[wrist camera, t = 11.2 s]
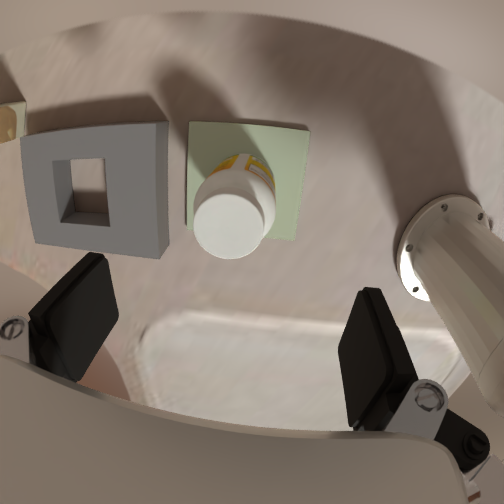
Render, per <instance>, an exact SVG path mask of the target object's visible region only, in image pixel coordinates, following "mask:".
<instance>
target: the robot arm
mask: <svg viewBox="0 0 504 504" xmlns="http://www.w3.org/2000/svg"><path fill="white" fill-rule="evenodd" d="M397 271H398V275H399V278H400V280H401V282H402V284H403V285H404V287H405V289H406V290H407V291H408V292H409V293H410V294H411V295H412V296H414V297H416V298H417V299H420V300H424V301H431V303H432V304H433V306H434V308H435V309H436V311H437V312H438V314H439V316H440V317H441V319H442V321H443V322H444V324H445V326H446V327H447V329H448V331H449V332H450V334H451V336H452V338H453V339H454V341H455V343H456V345H457V346H458V348H459V350H460V352H461V354H462V356H463V357H464V359H465V361H466V363H467V365H468V367H469V369H470V371H471V373H472V375H473V377H474V379H475V381H476V383H477V385H478V387H479V389H480V391H481V393H482V395H483V397H484V399H485V401H486V403H487V404H488V405H489V407H490V408H491V409H492V410H493V411H494V412H495V413H496V414H498V415H499V416H501V417H503V418H504V241H502V240H501V239H500V238H499V237H498V236H496V235H495V234H494V233H493V232H491V231H490V227H489V222H488V219H487V216H486V214H485V212H484V211H483V209H482V208H481V206H480V205H478V204H477V203H476V202H475V201H473V200H472V199H470V198H468V197H466V196H463V195H459V194H449V195H445V196H441V197H439V198H437V199H434V200H432V201H431V202H429V203H428V204H427V205H425V206H424V207H423V208H422V209H421V210H420V211H419V212H418V213H417V214H416V215H415V216H414V217H413V218H412V220H411V221H410V223H409V224H408V226H407V227H406V229H405V231H404V233H403V235H402V238H401V241H400V243H399V246H398V252H397ZM28 314H29V316H30V318H31V320H30V321H29V322H28V321H27V319H26V318H24V317H22V316H12V317H10V318H7V319H6V320H4V322H2V323H1V324H0V504H504V460H502V461H500V460H499V459H498V457H497V456H496V455H495V454H494V453H493V454H492V455H490V454H489V451H490V443H489V440H488V438H487V436H486V435H485V433H483V432H482V431H481V430H480V429H478V428H477V427H475V426H474V425H472V424H470V423H469V422H467V421H466V420H464V419H463V418H461V417H460V416H458V415H457V414H455V413H454V412H452V411H450V410H449V409H447V407H448V396H447V394H446V391H445V390H444V389H443V387H442V386H441V385H439V384H438V383H437V382H435V381H432V380H428V379H421V380H419V379H418V376H417V374H416V371H415V368H414V365H413V363H412V360H411V357H410V355H409V352H408V350H407V347H406V345H405V342H404V340H403V337H402V335H401V332H400V330H399V328H398V326H397V325H396V323H395V321H394V318H393V316H392V314H391V311H390V309H389V307H388V305H387V302H386V300H385V298H384V296H383V293H382V291H381V289H379V288H371V287H364V289H363V290H362V291H358V293H357V296H356V299H355V302H354V305H353V307H352V310H351V313H350V316H349V319H348V321H347V324H346V327H345V329H344V332H343V335H342V337H341V340H340V342H339V346H338V355H339V361H340V368H341V374H342V380H343V387H344V394H345V401H346V409H347V417H348V424H349V426H350V427H353V431H311V430H290V429H276V428H265V427H255V426H247V425H239V424H232V423H225V422H219V421H213V420H207V419H201V418H196V417H191V416H186V415H181V414H177V413H172V412H168V411H164V410H160V409H156V408H152V407H148V406H144V405H141V404H137V403H134V402H130V401H127V400H124V399H120V398H117V397H114V396H111V395H108V394H105V393H101V392H99V391H96V390H93V389H90V388H88V387H85V386H82V385H80V384H77V383H76V382H77V381H80V380H81V379H82V377H83V375H84V374H85V372H86V370H87V368H88V367H89V365H90V363H91V362H92V360H93V359H94V357H95V355H96V354H97V352H98V350H99V349H100V347H101V346H102V344H103V342H104V341H105V339H106V338H107V336H108V335H109V333H110V331H111V330H112V328H113V327H114V325H115V324H116V322H117V320H118V317H119V312H118V308H117V303H116V299H115V294H114V289H113V285H112V280H111V274H110V269H109V263H108V260H107V259H106V258H105V256H104V255H103V254H100V253H94V252H89V253H88V254H86V255H85V256H84V257H83V258H82V259H81V260H80V261H79V262H78V263H77V264H76V265H75V266H74V267H73V268H72V269H71V270H70V271H69V272H67V273H66V274H65V275H64V276H63V277H62V278H61V279H60V280H59V281H58V282H57V283H56V284H55V285H54V286H53V287H52V288H51V289H50V291H49V292H48V293H47V294H46V295H45V296H44V297H43V298H42V299H41V300H40V301H39V302H38V303H37V304H36V305H35V306H34V307H33V308H32V310H31V311H30V312H29V313H28Z"/></svg>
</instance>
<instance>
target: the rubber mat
mask: <svg viewBox="0 0 504 504" xmlns="http://www.w3.org/2000/svg"><path fill="white" fill-rule="evenodd" d="M309 138H310V131H305V130H298V129H291V128H283V127H274V126H264V125H253V124H241V123H225V122H202V121H189V136H188V164H187V230H193V219H194V211H193V204H194V199H195V195H196V193H197V191H198V189H199V187H200V186H201V184H202V183H203V182H204V181H205V179H206V178H207V177H208V176H209V175H210V174H211V173H212V172H213V170H214V169H215V168H216V167H217V166H218V165H219V164H220V163H221V162H222V161H223V160H225V159H226V158H228V157H230V156H232V155H235V154H241V153H246V154H252V155H255V156H257V157H259V158H261V159H262V160H263V161H265V162H266V163H267V164H268V166H269V167H270V168H271V170H272V172H273V175H274V178H275V190H276V215H275V220H274V223H273V225H272V227H271V229H270V230H269V232H268V233H267V234H266V235H265V236H264V237H263V238H273V239H282V240H291V241H294V240H295V234H296V228H297V221H298V215H299V209H300V202H301V196H302V189H303V182H304V175H305V168H306V161H307V154H308V146H309ZM193 231H194V230H193Z"/></svg>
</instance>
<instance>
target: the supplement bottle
mask: <svg viewBox="0 0 504 504" xmlns="http://www.w3.org/2000/svg"><path fill="white" fill-rule="evenodd" d="M193 211H194V219H193V230H194V234H195V237H196V239H197V241H198V243H199V244H200V245H201V246H202V248H203V249H205V250H206V251H207V252H208V253H210V254H212V255H214V256H216V257H219V258H223V259H237V258H241V257H244V256H246V255H248V254H249V253H251V252H252V251H253V250H255V248H256V247H257V246H258V245H259V243H260V241H261V239H262V238H263V237H264V236H265V235H266V234H267V233H268V232H269V230H270V229H271V227H272V225H273V223H274V220H275V215H276V190H275V178H274V175H273V172H272V170H271V168H270V167H269V166H268V164H267V163H266V162H265V161H263V160H262V159H261V158H259V157H257V156H255V155H252V154H246V153H241V154H235V155H232V156H230V157H228V158H226V159H225V160H223V161H222V162H221V163H220V164H219V165H218V166H217V167H216V168H215V169H214V170H213V172H212V173H211V174H210V175H209V176H208V177H207V178H206V179H205V181H204V182H203V183H202V184H201V186H200V187H199V189H198V191H197V193H196V195H195V199H194V204H193Z"/></svg>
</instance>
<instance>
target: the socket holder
mask: <svg viewBox="0 0 504 504" xmlns="http://www.w3.org/2000/svg"><path fill="white" fill-rule="evenodd" d="M168 125H169V121H147V122H125V123H110V124H98V125H88V126H78V127H70V128H63V129H56V130H49V131H43V132H37V133H34V134H30V135H27V136H23V137H20V145H21V158H22V169H23V178H24V185H25V192H26V199H27V205H28V210H29V216H30V221H31V226H32V230H33V235H34V239H35V243H38V244H45V245H52V246H59V247H66V248H74V249H81V250H89V251H96V252H104V253H112V254H120V255H128V256H136V257H144V258H152V259H160V258H161V256H162V255H163V253H164V252H165V250H166V249H167V247H168V246H169V225H168ZM93 158H105V171H106V186H107V198H108V209H109V214H104V213H89V212H75V205H74V197H73V188H72V178H71V167H70V160H71V159H93Z"/></svg>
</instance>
